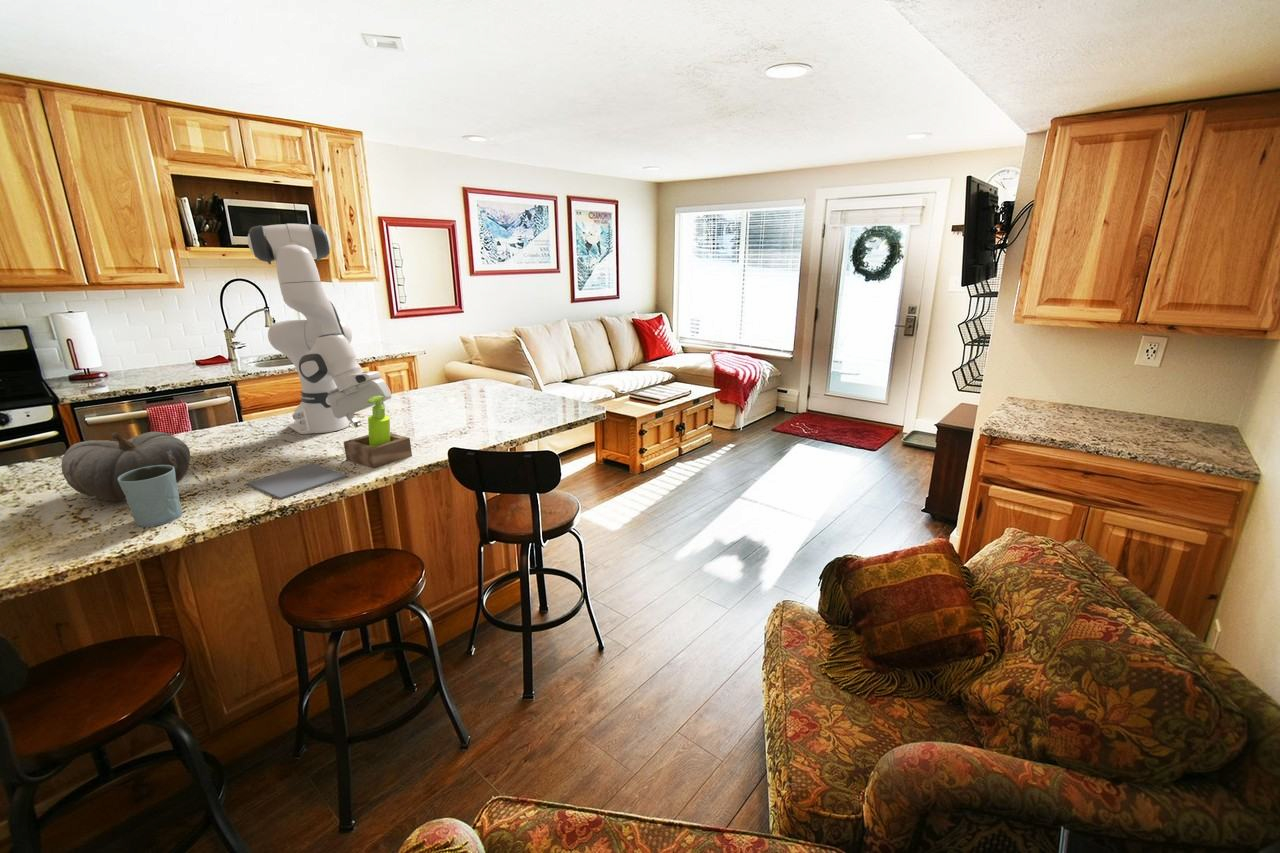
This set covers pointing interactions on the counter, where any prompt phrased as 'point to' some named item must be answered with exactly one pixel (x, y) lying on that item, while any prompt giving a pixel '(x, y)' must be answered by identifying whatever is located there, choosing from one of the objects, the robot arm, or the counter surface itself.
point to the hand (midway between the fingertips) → (370, 422)
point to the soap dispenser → (378, 423)
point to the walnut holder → (377, 451)
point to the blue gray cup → (152, 494)
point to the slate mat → (296, 480)
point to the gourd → (120, 462)
